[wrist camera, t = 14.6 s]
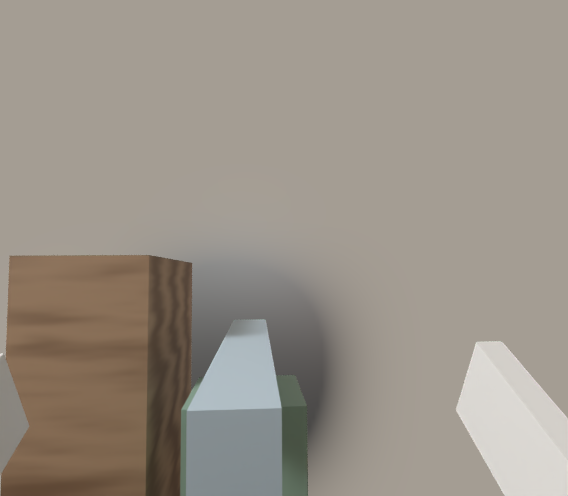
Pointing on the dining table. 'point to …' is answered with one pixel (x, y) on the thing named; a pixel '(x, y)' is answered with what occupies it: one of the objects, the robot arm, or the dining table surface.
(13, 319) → the stand
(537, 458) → the robot arm
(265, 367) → the rod
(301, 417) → the post
